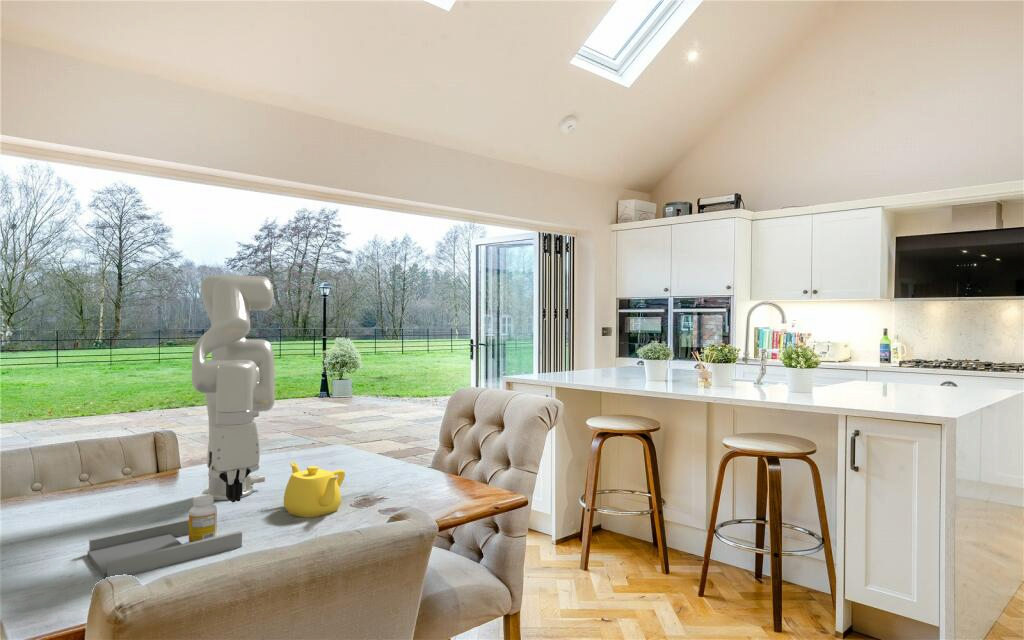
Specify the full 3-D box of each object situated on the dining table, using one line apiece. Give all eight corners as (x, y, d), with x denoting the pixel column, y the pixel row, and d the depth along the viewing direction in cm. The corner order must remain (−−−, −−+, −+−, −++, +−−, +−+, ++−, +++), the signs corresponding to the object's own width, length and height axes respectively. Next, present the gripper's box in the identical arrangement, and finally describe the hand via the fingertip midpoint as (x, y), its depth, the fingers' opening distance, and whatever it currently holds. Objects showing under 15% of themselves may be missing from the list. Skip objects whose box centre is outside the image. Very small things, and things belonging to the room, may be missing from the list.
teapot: (368, 510, 154) (368, 467, 154) (312, 525, 143) (312, 479, 143) (321, 493, 169) (322, 454, 169) (267, 506, 158) (267, 464, 158)
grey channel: (213, 526, 142) (213, 513, 142) (241, 546, 130) (242, 532, 130) (86, 554, 125) (86, 539, 125) (105, 580, 112) (105, 564, 112)
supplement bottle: (195, 537, 135) (195, 493, 135) (220, 537, 135) (220, 493, 135) (184, 546, 129) (184, 500, 129) (210, 546, 130) (211, 500, 130)
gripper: (261, 412, 145) (260, 490, 145) (192, 420, 134) (192, 503, 134) (274, 416, 139) (274, 497, 139) (204, 424, 129) (204, 511, 129)
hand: (234, 500), depth 137 cm, fingers closed
